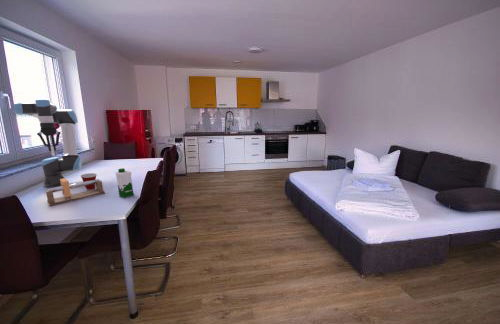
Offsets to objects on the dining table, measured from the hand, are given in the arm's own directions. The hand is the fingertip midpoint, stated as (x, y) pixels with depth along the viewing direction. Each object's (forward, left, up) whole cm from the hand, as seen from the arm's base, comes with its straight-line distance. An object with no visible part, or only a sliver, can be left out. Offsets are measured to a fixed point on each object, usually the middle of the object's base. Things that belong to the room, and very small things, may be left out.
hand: (53, 155), depth 163 cm
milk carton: (+38, +32, -31) cm, 58 cm away
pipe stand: (+14, +7, -30) cm, 34 cm away
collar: (+14, +1, -27) cm, 30 cm away
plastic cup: (-1, +19, -31) cm, 36 cm away
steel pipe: (+14, +7, -23) cm, 28 cm away
